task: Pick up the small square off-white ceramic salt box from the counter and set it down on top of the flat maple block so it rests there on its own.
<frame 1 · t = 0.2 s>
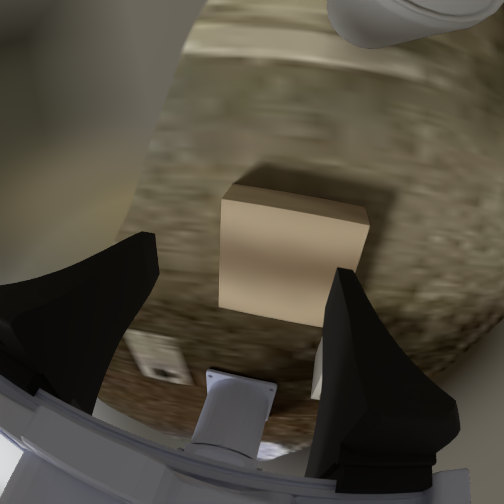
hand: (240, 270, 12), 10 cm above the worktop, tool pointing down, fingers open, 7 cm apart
beverage can: (366, 13, 13), on the worktop
salt box: (343, 344, 27), on the worktop
maple block: (290, 247, 23), on the worktop
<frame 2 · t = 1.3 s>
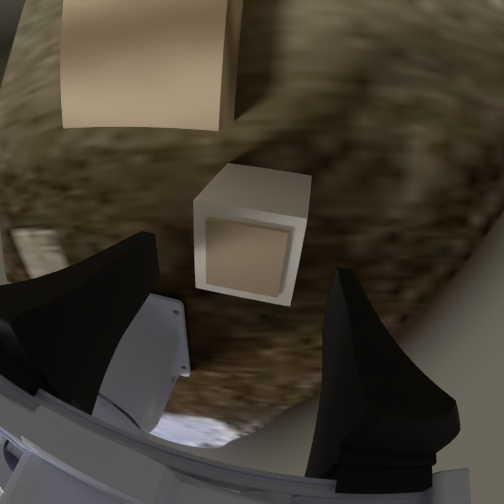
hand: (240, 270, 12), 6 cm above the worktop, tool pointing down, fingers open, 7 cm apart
salt box: (265, 206, 17), on the worktop
maple block: (159, 38, 13), on the worktop
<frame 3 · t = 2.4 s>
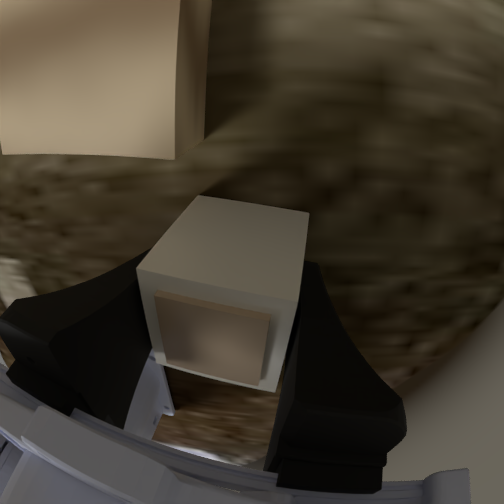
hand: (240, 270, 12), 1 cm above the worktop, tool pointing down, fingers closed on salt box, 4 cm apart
salt box: (248, 250, 13), on the worktop, touching gripper
maple block: (110, 33, 9), on the worktop
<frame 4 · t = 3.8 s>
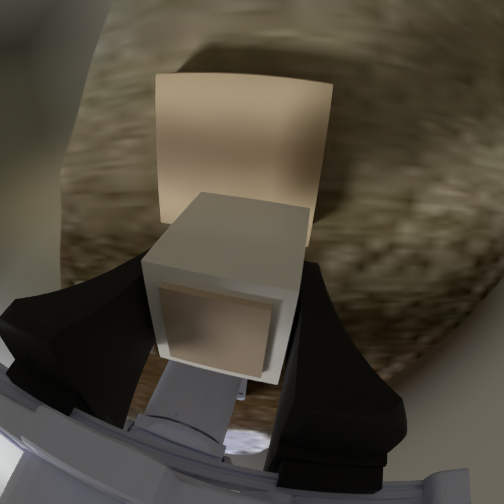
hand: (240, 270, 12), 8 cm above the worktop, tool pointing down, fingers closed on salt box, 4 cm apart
salt box: (250, 246, 14), point 7 cm above the worktop, touching gripper
maple block: (246, 145, 18), on the worktop
when the fingers open (5 cm above the worktop, at t = 5.2 s): salt box stays where it is, point 2 cm above the worktop.
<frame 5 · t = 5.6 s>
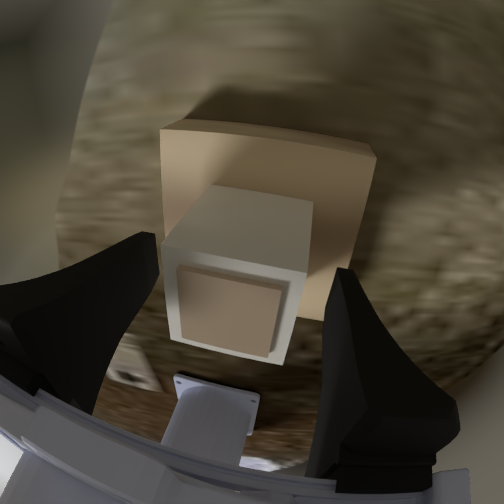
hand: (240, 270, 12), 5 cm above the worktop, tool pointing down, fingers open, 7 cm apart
salt box: (256, 236, 14), point 2 cm above the worktop
maple block: (265, 207, 17), on the worktop
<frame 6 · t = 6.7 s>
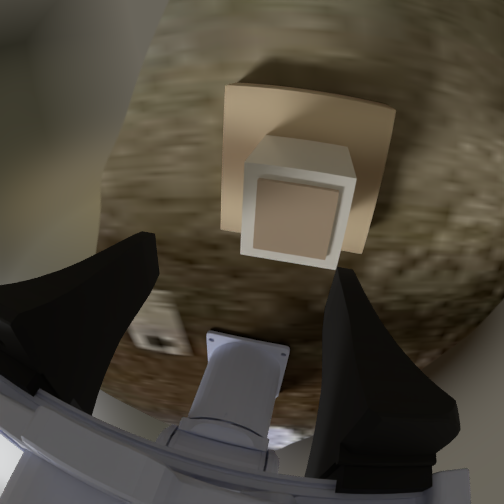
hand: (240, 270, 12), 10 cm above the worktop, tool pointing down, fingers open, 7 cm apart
salt box: (302, 177, 17), point 2 cm above the worktop, touching maple block
maple block: (304, 157, 19), on the worktop, touching salt box
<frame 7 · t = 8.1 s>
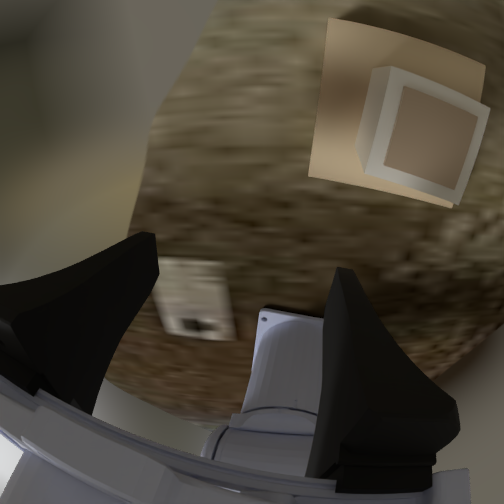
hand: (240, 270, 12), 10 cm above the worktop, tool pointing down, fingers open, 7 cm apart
salt box: (403, 119, 14), point 3 cm above the worktop
maple block: (390, 108, 16), on the worktop
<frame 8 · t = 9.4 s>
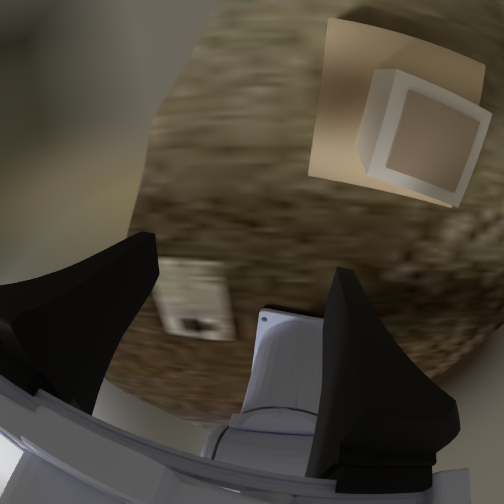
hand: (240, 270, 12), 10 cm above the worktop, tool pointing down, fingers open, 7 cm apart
salt box: (403, 120, 14), point 2 cm above the worktop
maple block: (390, 108, 16), on the worktop
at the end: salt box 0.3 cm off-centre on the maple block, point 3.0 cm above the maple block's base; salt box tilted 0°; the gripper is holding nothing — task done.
